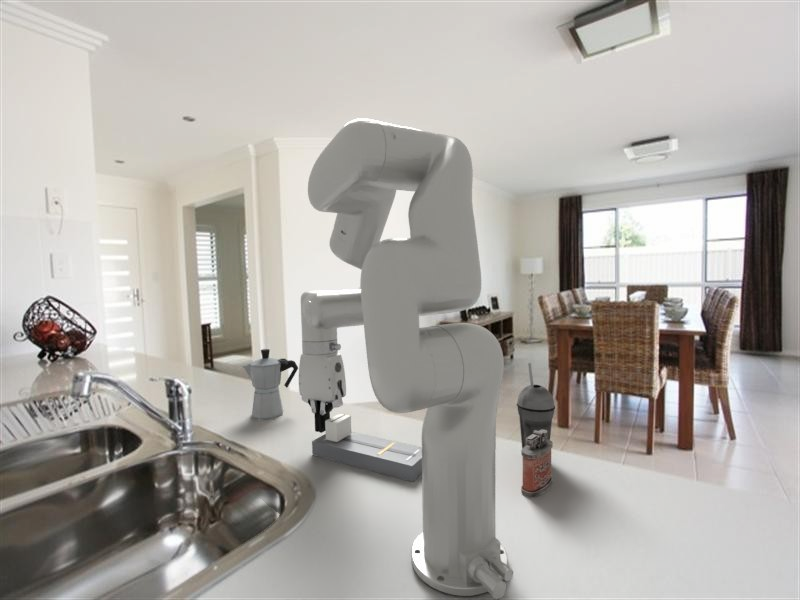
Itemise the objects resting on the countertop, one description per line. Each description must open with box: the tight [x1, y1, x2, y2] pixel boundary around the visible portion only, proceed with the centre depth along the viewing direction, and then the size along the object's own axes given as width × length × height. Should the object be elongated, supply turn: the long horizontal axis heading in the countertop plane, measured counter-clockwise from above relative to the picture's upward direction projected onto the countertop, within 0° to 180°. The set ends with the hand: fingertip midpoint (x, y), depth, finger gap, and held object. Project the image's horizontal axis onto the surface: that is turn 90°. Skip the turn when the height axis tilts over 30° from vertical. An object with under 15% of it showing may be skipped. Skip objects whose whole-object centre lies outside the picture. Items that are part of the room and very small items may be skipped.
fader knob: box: [325, 413, 352, 442], centre depth 88 cm, size 3×5×4 cm, turn 151°
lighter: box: [520, 429, 554, 499], centre depth 72 cm, size 8×3×10 cm, turn 135°
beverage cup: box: [516, 362, 556, 450], centre depth 81 cm, size 7×7×20 cm
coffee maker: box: [240, 348, 299, 421], centre depth 112 cm, size 15×9×18 cm, turn 104°
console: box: [311, 431, 422, 482], centre depth 84 cm, size 24×8×3 cm, turn 60°
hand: (322, 429), depth 90 cm, fingers closed
